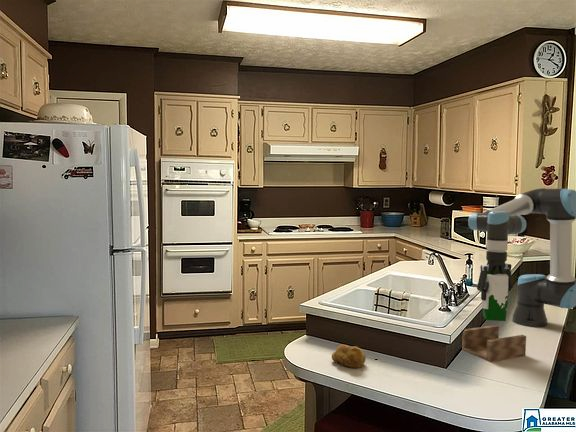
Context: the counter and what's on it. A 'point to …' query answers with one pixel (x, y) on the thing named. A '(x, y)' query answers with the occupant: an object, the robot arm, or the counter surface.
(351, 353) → the bread roll
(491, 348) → the u rest
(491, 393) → the counter surface
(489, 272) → the soya milk
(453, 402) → the counter surface
